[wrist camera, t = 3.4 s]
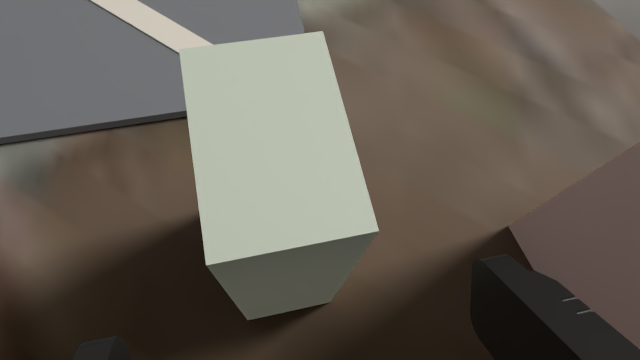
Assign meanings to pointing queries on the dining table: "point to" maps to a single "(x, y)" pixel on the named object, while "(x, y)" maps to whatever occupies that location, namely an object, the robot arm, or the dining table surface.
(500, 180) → the dining table surface
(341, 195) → the sage block
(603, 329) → the robot arm
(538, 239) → the greeting card
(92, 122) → the mat
